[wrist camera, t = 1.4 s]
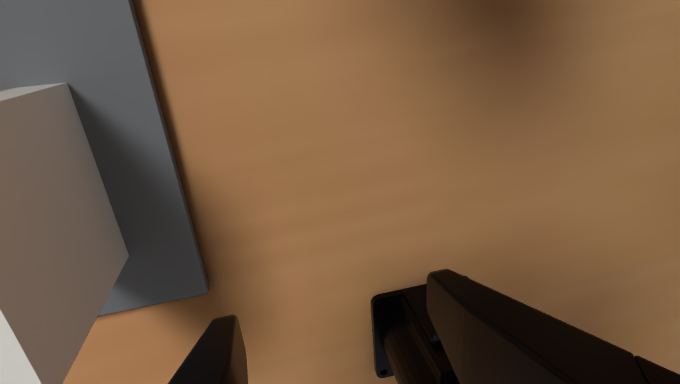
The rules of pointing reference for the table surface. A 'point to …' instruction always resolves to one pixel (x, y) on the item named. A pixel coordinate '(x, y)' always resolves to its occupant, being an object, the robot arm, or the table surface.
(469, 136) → the table surface
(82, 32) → the mat
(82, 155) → the tile
